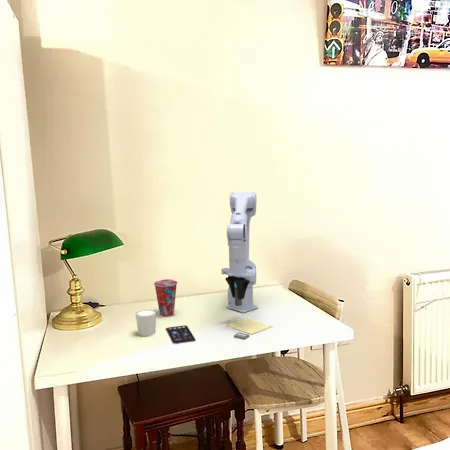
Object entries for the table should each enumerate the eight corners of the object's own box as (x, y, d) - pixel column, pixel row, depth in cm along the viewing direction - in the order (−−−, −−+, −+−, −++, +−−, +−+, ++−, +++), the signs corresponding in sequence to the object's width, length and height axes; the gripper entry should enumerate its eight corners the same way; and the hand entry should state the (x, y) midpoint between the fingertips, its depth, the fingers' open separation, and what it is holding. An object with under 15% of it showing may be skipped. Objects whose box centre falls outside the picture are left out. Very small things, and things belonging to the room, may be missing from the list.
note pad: (226, 325, 173) (226, 324, 173) (247, 318, 179) (247, 317, 179) (251, 334, 164) (251, 333, 164) (272, 326, 171) (272, 326, 171)
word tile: (233, 337, 162) (233, 335, 162) (238, 334, 165) (238, 332, 165) (244, 339, 160) (244, 337, 160) (249, 336, 163) (249, 334, 162)
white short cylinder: (134, 331, 169) (133, 311, 168) (154, 328, 172) (153, 308, 171) (139, 338, 163) (138, 317, 162) (159, 334, 166) (158, 314, 165)
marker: (233, 304, 173) (232, 282, 172) (238, 303, 175) (238, 280, 173) (238, 306, 171) (237, 283, 170) (243, 304, 173) (243, 282, 171)
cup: (181, 315, 184) (180, 283, 182) (159, 319, 180) (158, 287, 179) (173, 308, 192) (171, 278, 190) (151, 312, 189) (150, 281, 187)
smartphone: (186, 324, 174) (196, 340, 160) (186, 326, 174) (196, 342, 160) (165, 327, 172) (173, 343, 158) (165, 329, 172) (173, 345, 158)
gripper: (214, 257, 173) (215, 296, 175) (244, 264, 162) (244, 305, 164) (229, 254, 178) (230, 291, 180) (259, 260, 167) (259, 300, 169)
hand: (238, 297), depth 172 cm, fingers closed on marker, 2 cm apart
